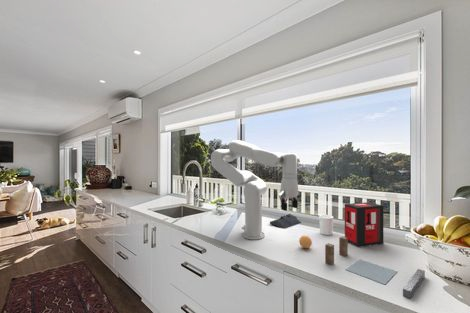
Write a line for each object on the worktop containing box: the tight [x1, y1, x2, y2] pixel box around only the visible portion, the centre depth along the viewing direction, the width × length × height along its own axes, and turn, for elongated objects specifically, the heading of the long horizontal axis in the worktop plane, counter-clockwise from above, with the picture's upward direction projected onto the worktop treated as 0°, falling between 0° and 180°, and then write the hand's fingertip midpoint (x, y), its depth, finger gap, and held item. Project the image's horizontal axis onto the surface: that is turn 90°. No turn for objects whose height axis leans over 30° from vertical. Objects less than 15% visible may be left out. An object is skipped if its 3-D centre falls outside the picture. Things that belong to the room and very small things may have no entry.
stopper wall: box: [402, 268, 426, 300], centre depth 81 cm, size 2×20×2 cm, turn 130°
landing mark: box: [345, 258, 398, 285], centre depth 92 cm, size 14×14×1 cm
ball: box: [298, 235, 313, 249], centre depth 115 cm, size 6×6×6 cm
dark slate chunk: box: [269, 213, 302, 230], centre depth 156 cm, size 15×22×5 cm
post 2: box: [338, 236, 349, 257], centre depth 106 cm, size 3×3×8 cm
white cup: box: [318, 214, 334, 236], centre depth 136 cm, size 8×8×10 cm
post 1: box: [324, 243, 335, 266], centre depth 98 cm, size 3×3×8 cm
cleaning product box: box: [344, 201, 384, 248], centre depth 122 cm, size 16×9×20 cm, turn 105°
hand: (289, 208), depth 122 cm, fingers open, 8 cm apart
